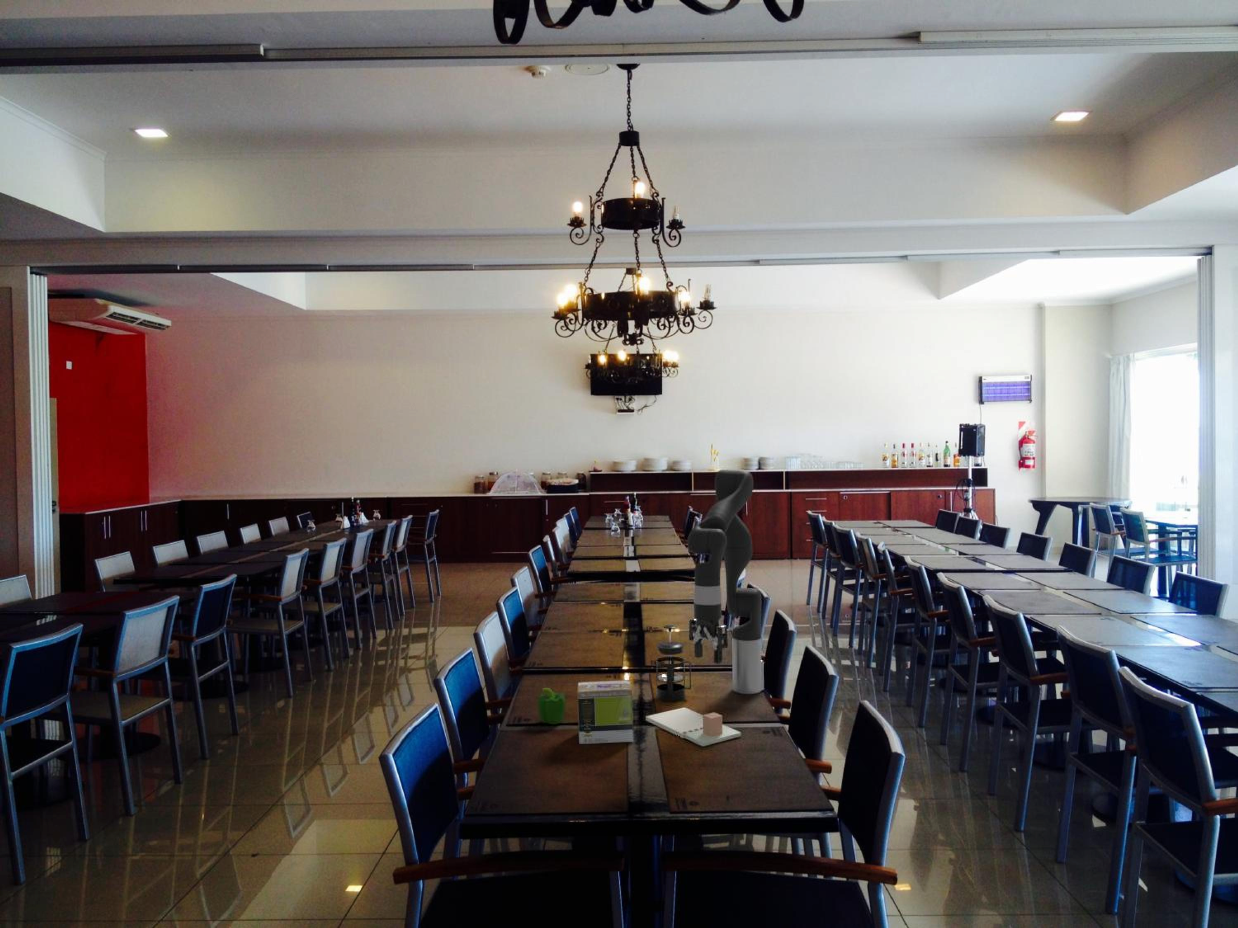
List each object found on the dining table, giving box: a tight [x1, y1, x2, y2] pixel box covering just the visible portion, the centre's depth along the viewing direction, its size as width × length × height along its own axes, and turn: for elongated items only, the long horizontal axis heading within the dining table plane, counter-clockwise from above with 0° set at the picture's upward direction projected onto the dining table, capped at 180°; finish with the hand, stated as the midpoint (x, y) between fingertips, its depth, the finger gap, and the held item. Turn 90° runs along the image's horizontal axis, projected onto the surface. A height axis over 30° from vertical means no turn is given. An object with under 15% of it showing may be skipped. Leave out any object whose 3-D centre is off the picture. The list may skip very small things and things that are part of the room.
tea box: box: [577, 679, 634, 745], centre depth 240 cm, size 15×10×15 cm
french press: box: [655, 624, 692, 703], centre depth 274 cm, size 12×9×23 cm
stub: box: [684, 712, 742, 747], centre depth 238 cm, size 8×13×6 cm, turn 122°
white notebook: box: [645, 707, 724, 739], centre depth 250 cm, size 18×14×1 cm
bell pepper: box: [536, 687, 567, 725], centre depth 254 cm, size 8×8×10 cm
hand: (708, 660), depth 238 cm, fingers open, 8 cm apart
